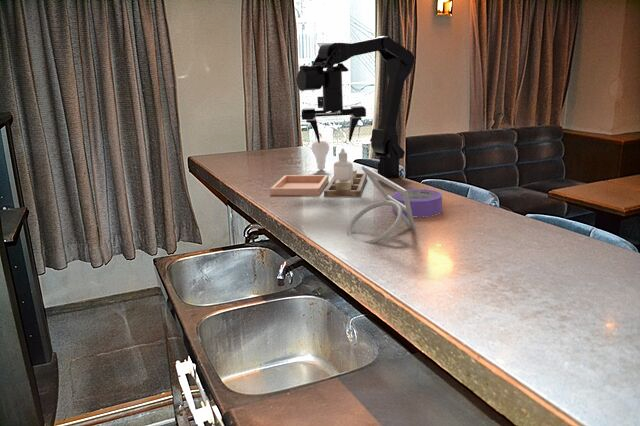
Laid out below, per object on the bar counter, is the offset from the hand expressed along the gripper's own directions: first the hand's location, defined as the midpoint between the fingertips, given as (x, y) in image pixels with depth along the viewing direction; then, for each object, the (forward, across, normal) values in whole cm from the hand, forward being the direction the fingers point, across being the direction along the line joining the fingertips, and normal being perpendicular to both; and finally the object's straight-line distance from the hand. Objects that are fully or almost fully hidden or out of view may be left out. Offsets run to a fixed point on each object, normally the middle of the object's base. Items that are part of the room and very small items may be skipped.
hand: (334, 142), depth 157 cm
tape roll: (+14, -17, +35) cm, 41 cm away
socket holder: (+13, -3, +5) cm, 14 cm away
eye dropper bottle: (+13, -2, +6) cm, 15 cm away
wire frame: (+16, -9, +51) cm, 54 cm away
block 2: (+13, -4, -3) cm, 14 cm away
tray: (+13, +11, +4) cm, 17 cm away
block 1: (+13, -1, +13) cm, 18 cm away
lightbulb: (+14, +4, -24) cm, 28 cm away
